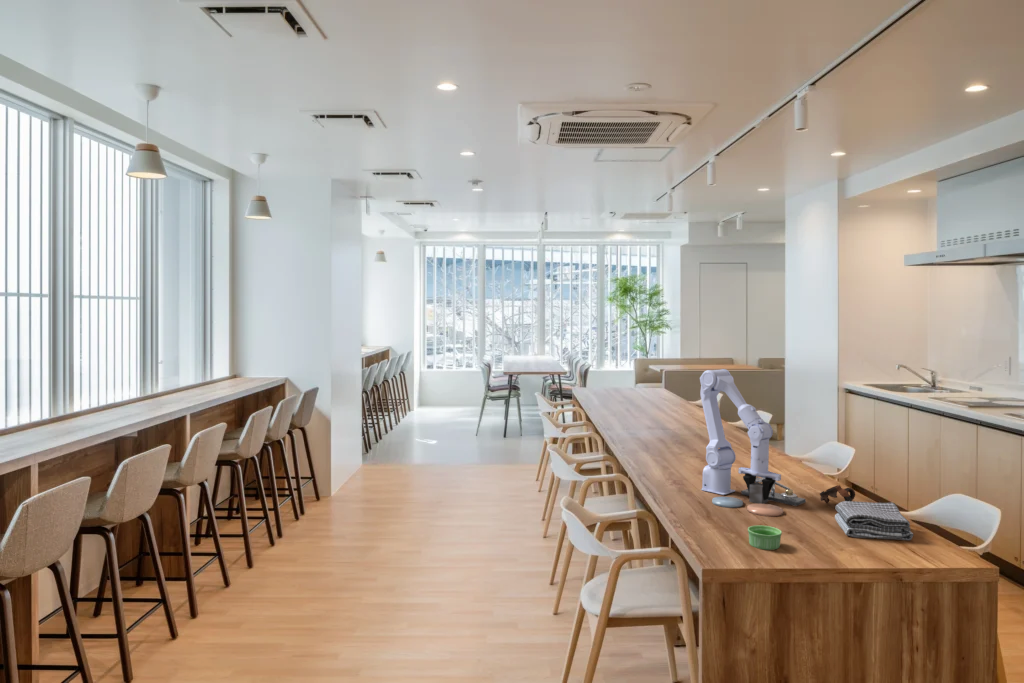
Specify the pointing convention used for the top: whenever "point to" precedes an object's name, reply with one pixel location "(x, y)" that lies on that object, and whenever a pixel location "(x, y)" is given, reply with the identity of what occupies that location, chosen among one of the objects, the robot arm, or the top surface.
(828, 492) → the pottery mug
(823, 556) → the top surface
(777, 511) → the dish
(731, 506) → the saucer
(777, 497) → the balance
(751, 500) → the block
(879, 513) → the towel
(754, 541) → the ramekin
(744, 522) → the top surface
